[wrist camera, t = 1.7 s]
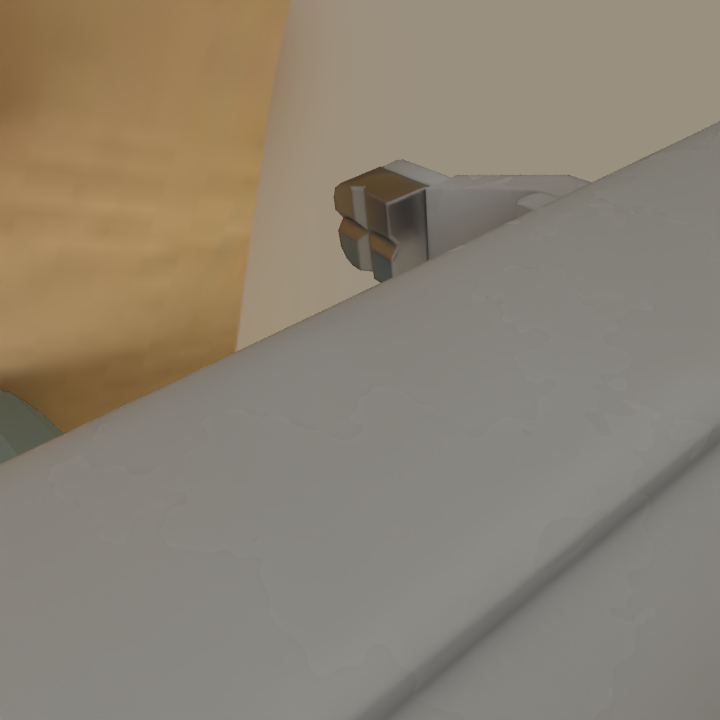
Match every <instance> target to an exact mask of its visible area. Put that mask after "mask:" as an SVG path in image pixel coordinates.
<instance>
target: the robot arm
mask: <svg viewBox="0 0 720 720" xmlns="http://www.w3.org/2000/svg"><path fill="white" fill-rule="evenodd" d="M334 202H335V209H336V211H338V212H339V214H340V215H342V217H343V220H342V222H341V225H340V228H339V230H338V231H339V237H340V243H341V247H342V249H343V251H344V253H345V255H346V258H347V259H348V260H349V261H350V262H351V264H352V265H353V266H355V267H356V268H358V269H360V270H363V271H373V273H374V279H376V280H377V281H379V282H381V283H380V284H378V285H376V286H374V287H371V288H369V289H367V290H365V291H363V292H361V293H359V294H357V295H355V296H353V297H350V298H348V299H346V300H344V301H342V302H340V303H338V304H336V305H334V306H332V307H330V308H328V309H325V310H323V311H321V312H319V313H317V314H315V315H313V316H311V317H309V318H306V319H304V320H302V321H300V322H298V323H296V324H294V325H292V326H289V327H287V328H285V329H283V330H281V331H279V332H277V333H275V334H273V335H271V336H268V337H267V338H264V339H262V340H260V341H258V342H256V343H254V344H252V345H250V346H247V347H245V348H243V349H241V350H239V351H237V352H235V353H233V354H231V355H229V356H226V357H224V358H222V359H220V360H218V361H216V362H214V363H212V364H210V365H207V366H205V367H203V368H201V369H199V370H197V371H195V372H193V373H191V374H189V375H186V376H184V377H182V378H180V379H178V380H176V381H174V382H172V383H170V384H168V385H165V386H163V387H161V388H159V389H157V390H155V391H153V392H151V393H149V394H147V395H144V396H142V397H140V398H138V399H136V400H134V401H132V402H130V403H128V404H126V405H123V406H121V407H119V408H117V409H115V410H113V411H111V412H109V413H107V414H104V415H102V416H100V417H98V418H96V419H94V420H92V421H90V422H88V423H86V424H83V425H81V426H79V427H77V428H75V429H73V430H71V431H69V432H67V433H65V434H62V435H60V436H58V437H56V438H54V439H52V440H50V441H48V442H46V443H44V444H41V445H39V446H37V447H35V448H33V449H31V450H29V451H27V452H25V453H23V454H20V455H18V456H16V457H14V458H12V459H10V460H8V461H6V462H4V463H1V464H0V720H720V121H719V122H718V123H715V124H713V125H711V126H709V127H707V128H705V129H703V130H701V131H699V132H697V133H695V134H693V135H691V136H688V137H686V138H684V139H682V140H680V141H678V142H676V143H674V144H672V145H670V146H667V147H666V148H663V149H661V150H659V151H657V152H655V153H653V154H651V155H649V156H647V157H644V158H642V159H640V160H639V161H636V162H634V163H632V164H630V165H628V166H626V167H624V168H621V169H619V170H617V171H615V172H613V173H611V174H609V175H607V176H605V177H602V178H600V179H598V180H596V181H594V182H589V181H586V180H583V179H579V178H576V177H573V176H570V175H457V176H454V177H452V178H451V177H448V176H446V175H443V174H440V173H438V172H435V171H432V170H430V169H427V168H424V167H422V166H419V165H416V164H414V163H411V162H408V161H406V160H403V159H402V160H397V161H394V162H392V163H390V164H387V165H385V166H383V167H378V168H376V169H374V170H371V171H369V172H366V173H364V174H362V175H359V176H357V177H354V178H352V179H350V180H347V181H345V182H342V183H340V184H339V185H338V186H337V187H335V192H334Z"/></svg>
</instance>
